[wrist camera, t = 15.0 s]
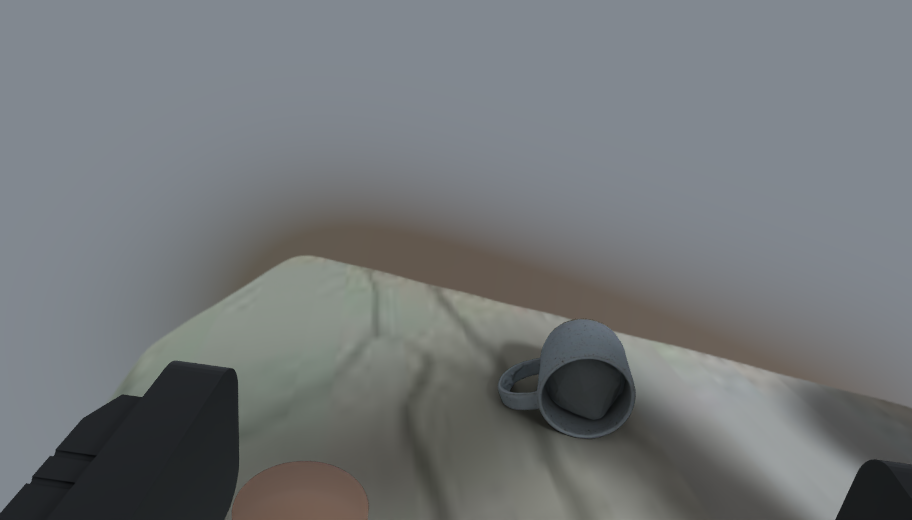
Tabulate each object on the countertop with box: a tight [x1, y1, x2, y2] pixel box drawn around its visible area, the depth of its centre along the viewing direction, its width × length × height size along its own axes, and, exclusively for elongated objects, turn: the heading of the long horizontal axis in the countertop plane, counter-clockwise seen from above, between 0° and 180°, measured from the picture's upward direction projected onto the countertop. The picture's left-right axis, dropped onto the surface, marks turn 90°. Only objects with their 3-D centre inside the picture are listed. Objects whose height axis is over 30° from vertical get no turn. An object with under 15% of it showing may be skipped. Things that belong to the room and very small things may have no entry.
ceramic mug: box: [498, 319, 636, 439], centre depth 60 cm, size 11×8×8 cm
